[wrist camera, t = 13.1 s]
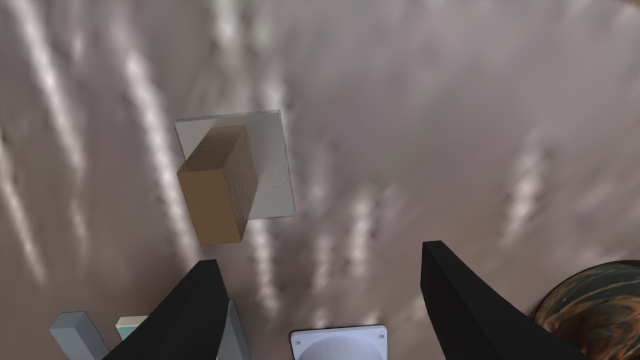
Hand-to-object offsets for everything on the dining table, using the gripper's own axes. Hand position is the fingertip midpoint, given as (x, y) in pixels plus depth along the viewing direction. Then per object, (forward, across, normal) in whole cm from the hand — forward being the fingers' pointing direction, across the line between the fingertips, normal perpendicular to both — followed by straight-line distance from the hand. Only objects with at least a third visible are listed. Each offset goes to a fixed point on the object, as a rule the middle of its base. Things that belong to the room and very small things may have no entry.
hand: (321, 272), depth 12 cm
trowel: (+11, +5, +1) cm, 12 cm away
